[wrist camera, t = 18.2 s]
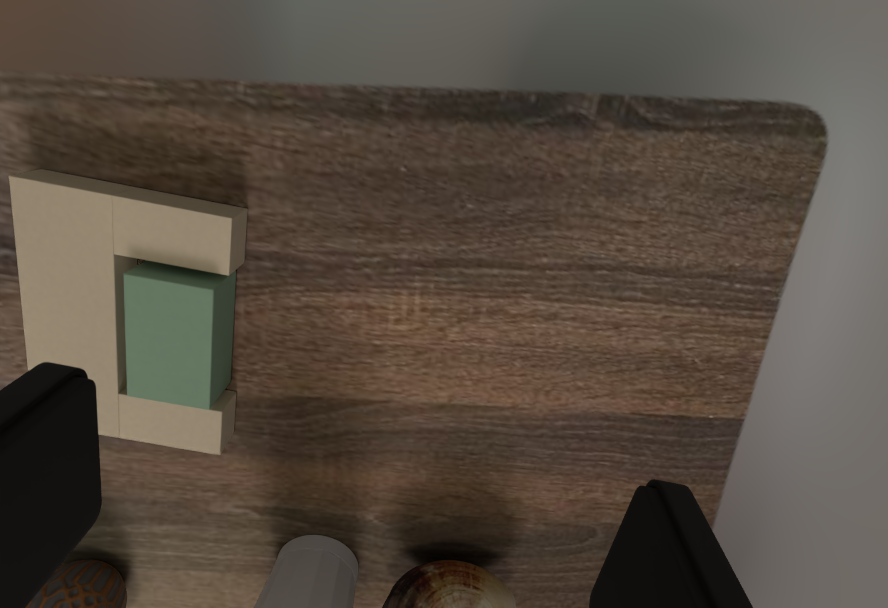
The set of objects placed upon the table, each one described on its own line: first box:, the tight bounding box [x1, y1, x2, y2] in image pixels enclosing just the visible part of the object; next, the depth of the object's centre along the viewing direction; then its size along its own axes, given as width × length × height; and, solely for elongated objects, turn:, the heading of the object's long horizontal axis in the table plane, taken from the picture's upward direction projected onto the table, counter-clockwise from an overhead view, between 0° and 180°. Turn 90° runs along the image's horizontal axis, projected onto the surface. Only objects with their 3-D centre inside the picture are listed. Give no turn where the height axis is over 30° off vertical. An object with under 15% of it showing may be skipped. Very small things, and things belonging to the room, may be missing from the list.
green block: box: [123, 260, 236, 410], centre depth 34 cm, size 8×5×4 cm, turn 169°
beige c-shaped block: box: [9, 169, 248, 455], centre depth 34 cm, size 16×12×2 cm
